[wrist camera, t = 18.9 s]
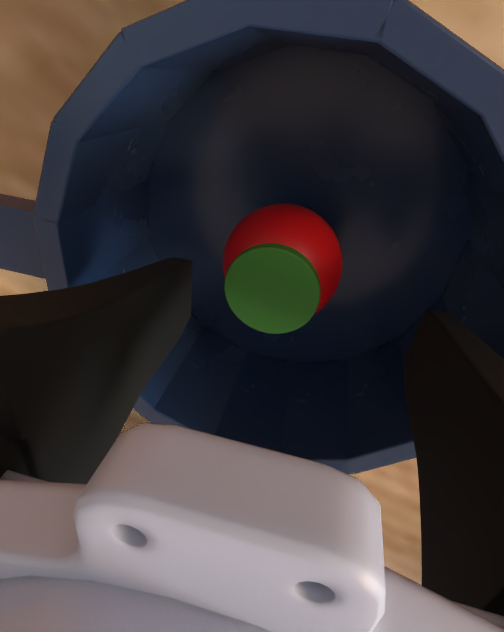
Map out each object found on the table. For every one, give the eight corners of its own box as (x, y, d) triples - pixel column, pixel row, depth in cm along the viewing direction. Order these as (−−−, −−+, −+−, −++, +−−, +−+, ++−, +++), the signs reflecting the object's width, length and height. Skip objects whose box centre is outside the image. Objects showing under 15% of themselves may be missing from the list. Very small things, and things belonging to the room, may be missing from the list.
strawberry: (331, 289, 17) (323, 361, 13) (240, 270, 18) (202, 333, 13) (356, 194, 15) (357, 243, 10) (250, 175, 15) (208, 214, 11)
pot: (466, 410, 19) (508, 537, 14) (98, 322, 22) (15, 402, 17) (675, 62, 11) (956, 51, 6) (56, -12, 14) (-131, -66, 9)
